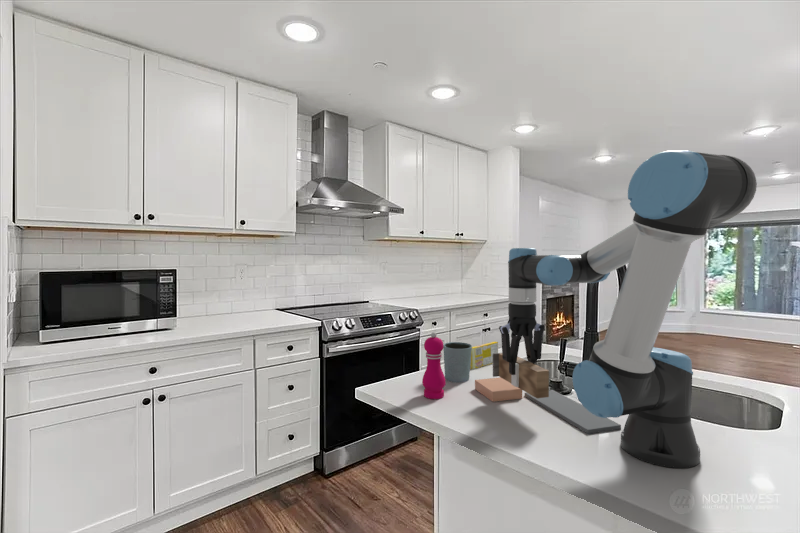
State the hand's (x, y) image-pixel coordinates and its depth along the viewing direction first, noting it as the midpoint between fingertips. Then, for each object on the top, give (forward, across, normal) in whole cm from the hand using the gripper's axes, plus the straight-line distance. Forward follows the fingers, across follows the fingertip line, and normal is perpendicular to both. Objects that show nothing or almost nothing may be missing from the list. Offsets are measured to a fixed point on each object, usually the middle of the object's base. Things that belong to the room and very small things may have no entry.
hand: (521, 384), depth 119 cm
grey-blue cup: (+7, +6, -32) cm, 33 cm away
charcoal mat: (+7, -12, +4) cm, 15 cm away
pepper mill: (+7, +20, -18) cm, 28 cm away
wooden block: (0, 0, 0) cm, 0 cm away
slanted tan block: (+6, 0, -8) cm, 10 cm away
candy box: (+8, -11, -45) cm, 47 cm away
